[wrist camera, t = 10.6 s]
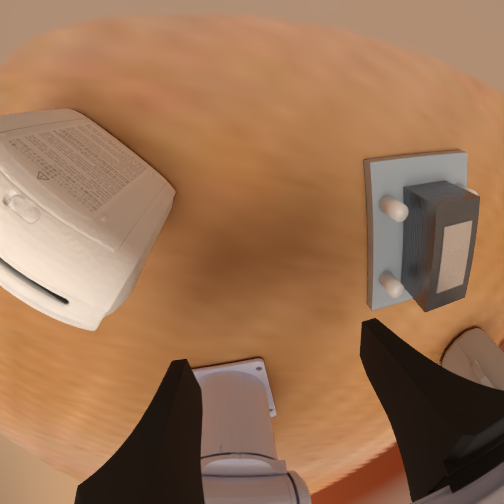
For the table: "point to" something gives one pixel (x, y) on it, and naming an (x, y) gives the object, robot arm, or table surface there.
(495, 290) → the table surface
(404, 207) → the grey mounting plate
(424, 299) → the block
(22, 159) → the photo printer
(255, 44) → the table surface
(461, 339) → the water bottle
